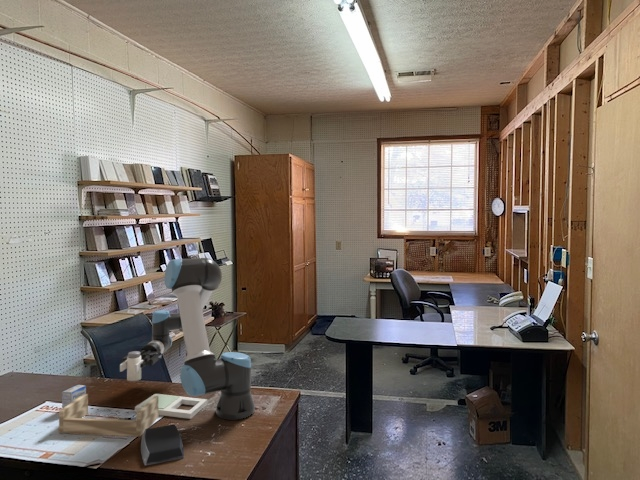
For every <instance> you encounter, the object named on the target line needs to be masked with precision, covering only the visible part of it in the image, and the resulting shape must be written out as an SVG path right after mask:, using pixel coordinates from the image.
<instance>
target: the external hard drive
mask: <svg viewBox="0 0 640 480" xmlns="http://www.w3.org/2000/svg"><path fill="white" fill-rule="evenodd" d="M184 449H185V448H184V444H183V439H182V435H181V433H180V431H179V429H178V427H177V426H176V425H175V424H168V425H164V426H163V425H161V426H156V427H149V428H148V429H145V431H144V433H143V434H142V435H141V440H140V454H141V459H142V463H143V465H144V466H150V465H151V466H152V465H155V464H160V463H167V462H171V461H175V460H176V461H177V460H181V459H185V458H184V457H185V451H184Z"/></svg>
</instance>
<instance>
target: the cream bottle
mask: <svg viewBox="0 0 640 480" xmlns="http://www.w3.org/2000/svg"><path fill="white" fill-rule="evenodd" d="M127 355H128V357H127V368H126V380H127V382H137V381H139V380H140V381H141V379H142V368H141V369H140V370H139V371H137V372H135V365H136V364H137V363H138V362H140V361H141V355H140V351H137V350H134V351H129V352H128V353H127Z"/></svg>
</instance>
